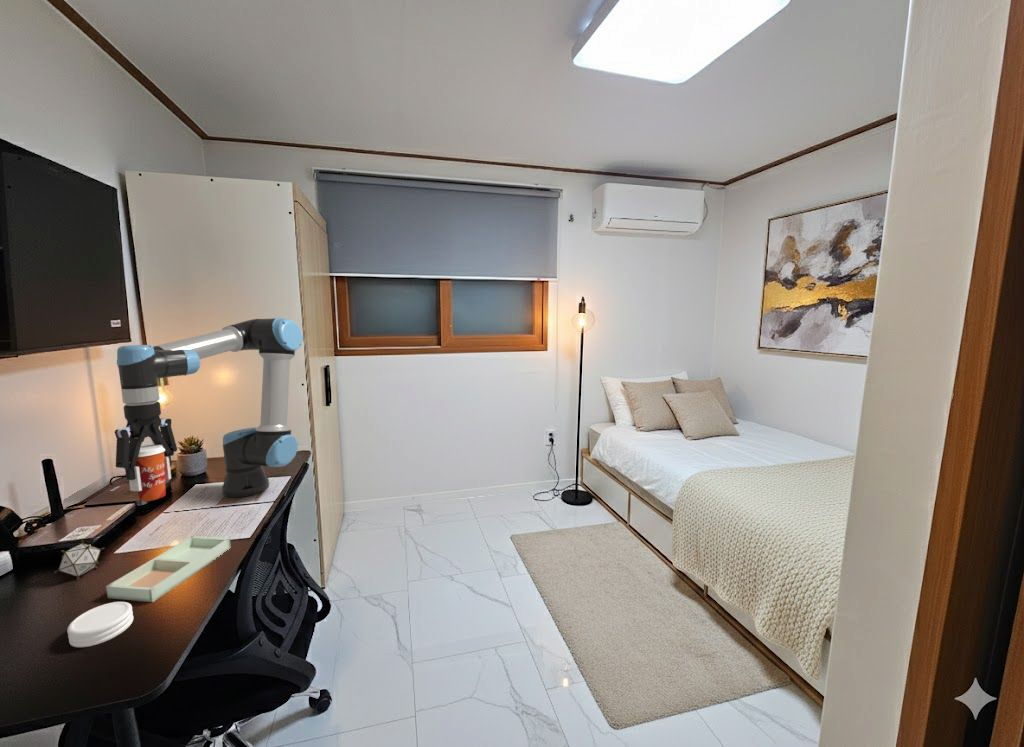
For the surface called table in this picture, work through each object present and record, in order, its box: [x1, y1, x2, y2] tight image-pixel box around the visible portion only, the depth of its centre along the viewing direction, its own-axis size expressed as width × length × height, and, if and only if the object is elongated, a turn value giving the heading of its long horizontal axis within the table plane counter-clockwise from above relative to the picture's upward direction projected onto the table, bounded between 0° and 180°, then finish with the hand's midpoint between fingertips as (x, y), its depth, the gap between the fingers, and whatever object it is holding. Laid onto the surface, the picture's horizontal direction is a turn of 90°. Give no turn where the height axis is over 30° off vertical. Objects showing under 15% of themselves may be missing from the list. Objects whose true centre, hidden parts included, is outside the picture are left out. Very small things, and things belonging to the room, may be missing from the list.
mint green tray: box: [105, 535, 232, 603], centre depth 113 cm, size 23×12×3 cm, turn 172°
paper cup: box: [136, 444, 167, 502], centre depth 120 cm, size 8×8×14 cm
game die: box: [54, 539, 105, 581], centre depth 112 cm, size 9×8×10 cm
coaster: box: [66, 601, 134, 648], centre depth 92 cm, size 10×10×4 cm
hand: (151, 484), depth 121 cm, fingers closed on paper cup, 8 cm apart
